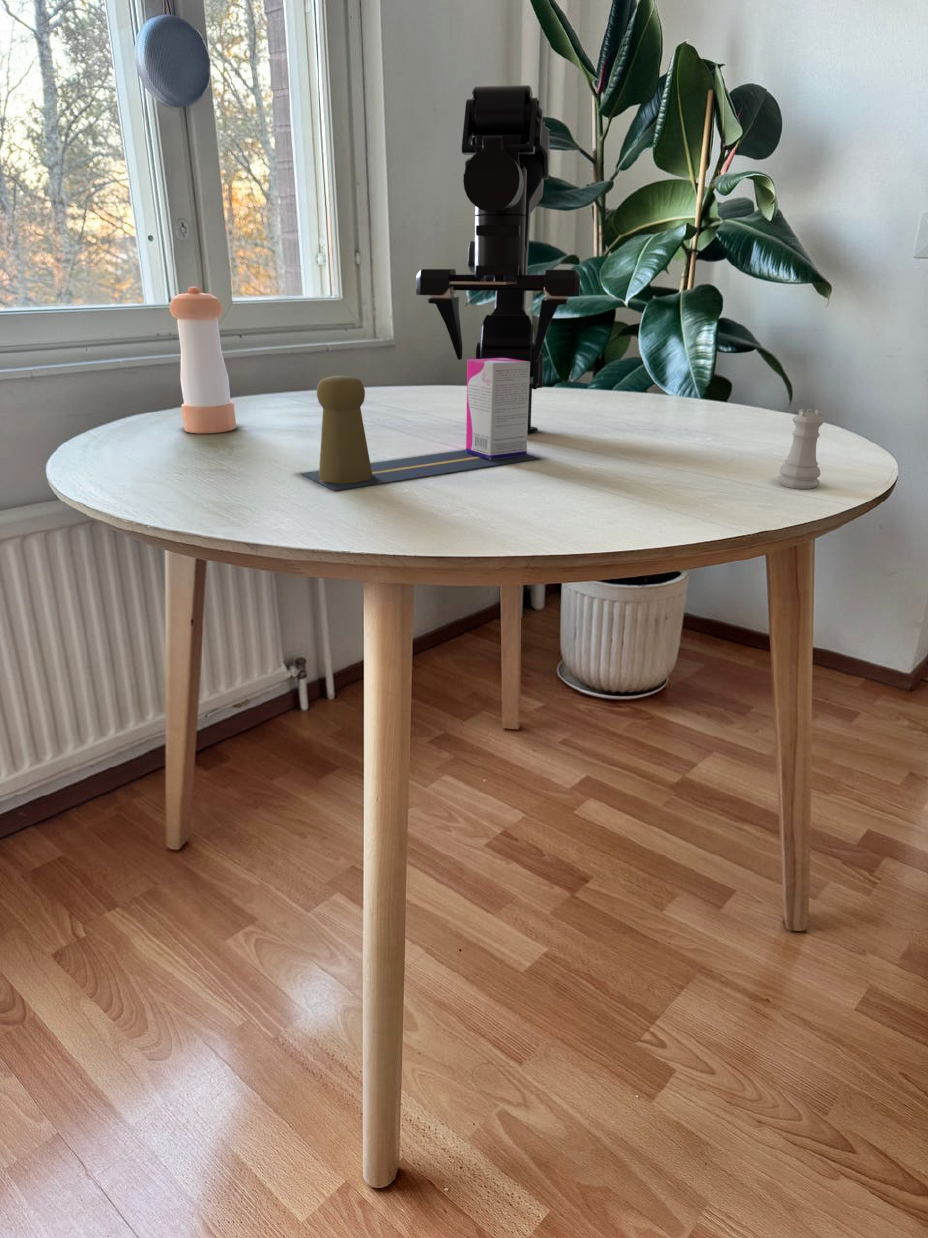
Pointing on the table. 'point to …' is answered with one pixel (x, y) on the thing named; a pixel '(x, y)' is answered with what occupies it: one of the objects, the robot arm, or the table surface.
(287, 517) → the table surface
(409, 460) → the line mat
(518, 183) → the robot arm
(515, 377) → the supplement box
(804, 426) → the rook chess piece
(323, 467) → the cork
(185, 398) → the salt shaker
